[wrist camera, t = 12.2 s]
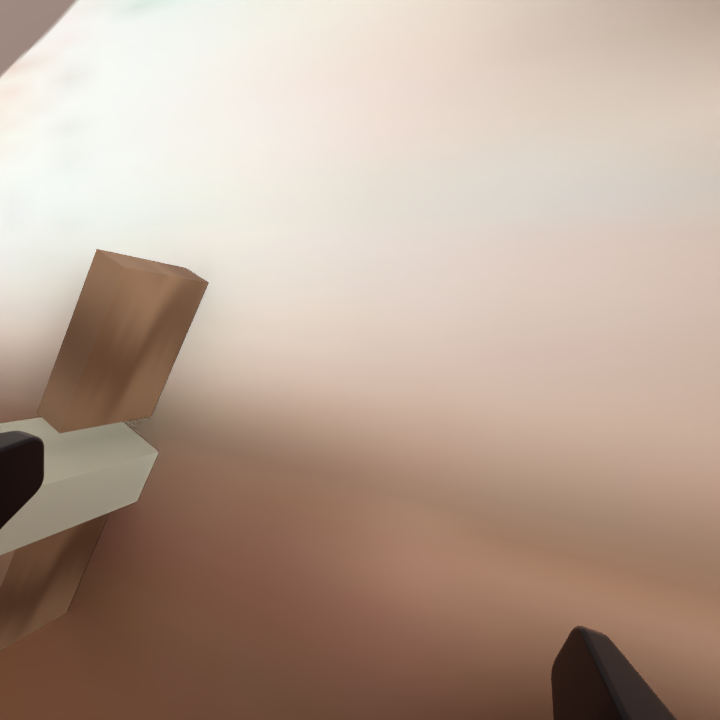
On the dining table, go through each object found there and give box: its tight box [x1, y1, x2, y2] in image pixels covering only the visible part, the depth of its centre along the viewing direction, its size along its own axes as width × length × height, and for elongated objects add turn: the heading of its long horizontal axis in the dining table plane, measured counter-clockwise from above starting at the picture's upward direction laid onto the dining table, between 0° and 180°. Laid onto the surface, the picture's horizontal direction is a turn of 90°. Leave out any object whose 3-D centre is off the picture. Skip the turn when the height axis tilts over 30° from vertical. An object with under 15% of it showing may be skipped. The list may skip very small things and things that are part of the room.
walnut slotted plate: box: [0, 249, 208, 651], centre depth 21 cm, size 20×2×4 cm, turn 151°
